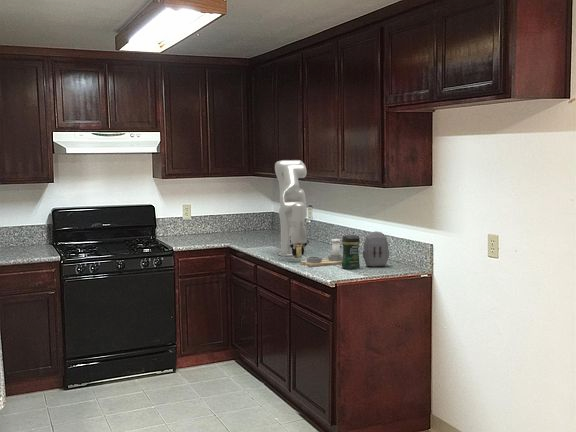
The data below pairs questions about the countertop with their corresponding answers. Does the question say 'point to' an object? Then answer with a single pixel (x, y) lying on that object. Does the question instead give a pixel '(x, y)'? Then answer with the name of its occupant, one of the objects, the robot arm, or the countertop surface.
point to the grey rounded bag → (376, 249)
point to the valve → (298, 250)
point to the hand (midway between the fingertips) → (298, 254)
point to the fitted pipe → (335, 251)
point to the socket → (314, 259)
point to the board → (324, 263)
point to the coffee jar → (350, 252)
